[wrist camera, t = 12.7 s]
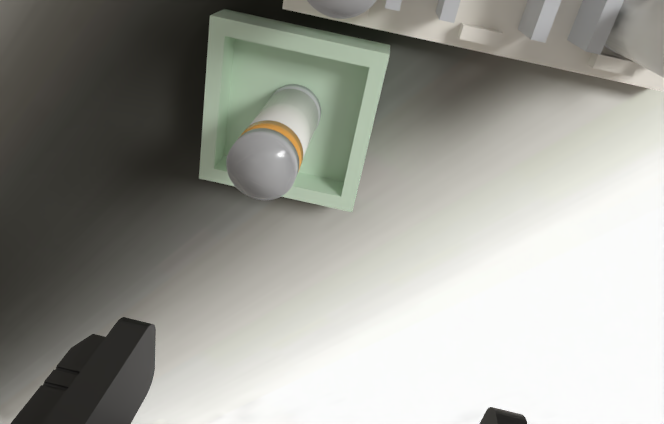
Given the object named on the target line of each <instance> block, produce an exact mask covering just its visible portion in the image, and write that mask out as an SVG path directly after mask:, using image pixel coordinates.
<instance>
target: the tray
mask: <svg viewBox="0 0 664 424" xmlns="http://www.w3.org/2000/svg"><path fill="white" fill-rule="evenodd" d="M389 55H390V45H388V44H384V43H379V42H374V41H370V40H365V39H361V38H356V37H351V36H347V35H342V34H338V33H333V32H328V31H324V30H319V29H314V28H310V27H305V26H301V25H296V24H291V23H287V22H282V21H278V20H273V19H268V18H264V17H259V16H255V15H250V14H245V13H241V12H236V11H232V10H227V9H223V10H221V11H219V12H216V13H214V14H212V15H210V21H209V36H208V51H207V66H206V81H205V96H204V110H203V125H202V140H201V155H200V170H199V179H203V180H208V181H212V182H217V183H222V184H226V185H231V186H234V184H233V183H232V181H231V180H230V178H229V175H228V172H227V167H226V160H227V155H228V153H229V151H230V149H231V147H232V146H233V145H234V143H235V142H236V141H237V139H238V138H239V137H240V136H241V134H242V133H243V132H244V130H245V129H246V128H247V127H249V125H250V124H251V123H252V122H253V120H254V119H255V118H256V116H257V115H258V114H259V113H260V111H261V110H262V109H263V107H264V106H265V105H266V103H267V102H268V100H269V98H270V97H271V96H272V94H273V93H274V92H275V91H276V90H277V89H278V88H280V87H282V86H284V85H288V84H298V85H302V86H305V87H307V88H308V89H310V90H311V91H312V92H313V93H314V94H315V95H316V97H317V98H318V100H319V102H320V105H321V118H320V121H319V124H318V126H317V128H316V130H315V131H314V134H313V136H312V138H311V141H310V143H309V145H308V148H307V150H306V153H305V155H304V157H303V161H302V164H301V167H300V169H299V172H298V174H297V176H296V179H295V181H294V183H293V185H292V187H291V188H290V190H289V191H288V192H287V193H286V194H284V195H283V196H281V197H285V198H290V199H294V200H299V201H303V202H308V203H312V204H317V205H321V206H326V207H331V208H335V209H340V210H344V211H349V212H352V211H353V207H354V203H355V199H356V194H357V190H358V186H359V182H360V177H361V173H362V169H363V165H364V161H365V156H366V152H367V148H368V144H369V140H370V135H371V131H372V127H373V123H374V119H375V114H376V110H377V106H378V102H379V98H380V93H381V89H382V85H383V81H384V76H385V72H386V68H387V64H388V60H389Z"/></svg>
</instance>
